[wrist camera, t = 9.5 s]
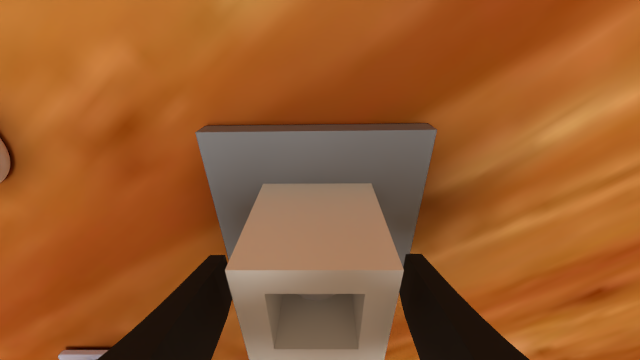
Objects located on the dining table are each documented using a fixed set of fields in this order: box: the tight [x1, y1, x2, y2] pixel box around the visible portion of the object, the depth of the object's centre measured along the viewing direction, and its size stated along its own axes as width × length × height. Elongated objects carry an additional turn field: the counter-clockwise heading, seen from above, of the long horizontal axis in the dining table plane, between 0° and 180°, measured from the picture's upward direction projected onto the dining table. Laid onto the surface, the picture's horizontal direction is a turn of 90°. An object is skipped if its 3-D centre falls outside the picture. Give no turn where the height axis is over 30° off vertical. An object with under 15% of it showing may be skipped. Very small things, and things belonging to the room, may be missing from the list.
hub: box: [225, 183, 404, 360], centre depth 10 cm, size 5×5×5 cm
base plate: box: [195, 123, 437, 301], centre depth 11 cm, size 10×10×4 cm
